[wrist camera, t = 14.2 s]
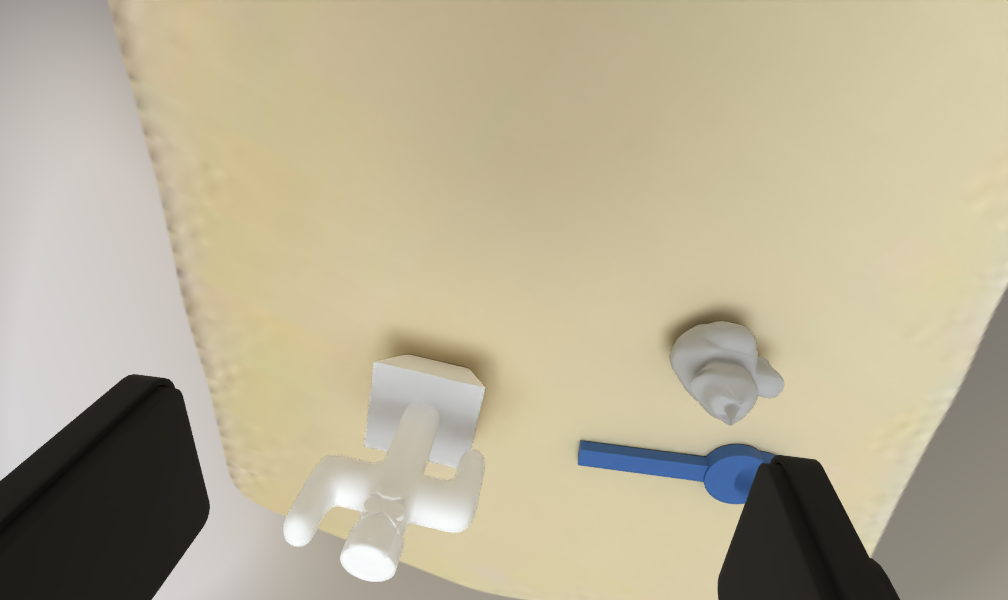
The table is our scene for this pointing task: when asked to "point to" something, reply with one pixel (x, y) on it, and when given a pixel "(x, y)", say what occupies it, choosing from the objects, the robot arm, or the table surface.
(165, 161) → the table surface
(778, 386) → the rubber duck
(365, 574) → the figurine
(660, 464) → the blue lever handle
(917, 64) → the table surface
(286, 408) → the table surface
